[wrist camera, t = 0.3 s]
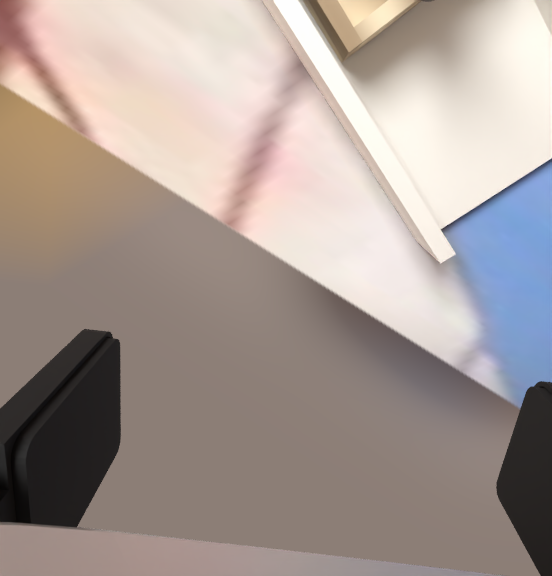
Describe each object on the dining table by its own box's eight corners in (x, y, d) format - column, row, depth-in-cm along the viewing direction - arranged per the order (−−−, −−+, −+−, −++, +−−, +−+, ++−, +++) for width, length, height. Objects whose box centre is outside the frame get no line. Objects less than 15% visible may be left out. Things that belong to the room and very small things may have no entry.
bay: (416, -271, 29) (452, -390, 22) (604, 119, 36) (674, 117, 29) (210, -81, 32) (188, -134, 26) (416, 240, 39) (440, 263, 33)
